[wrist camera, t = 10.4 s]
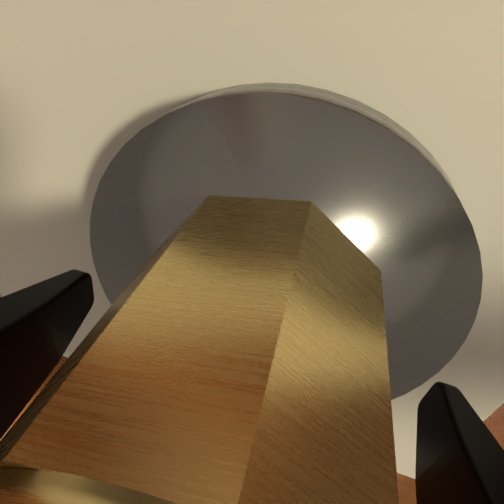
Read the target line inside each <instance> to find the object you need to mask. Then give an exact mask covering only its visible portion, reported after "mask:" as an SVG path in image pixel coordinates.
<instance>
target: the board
mask: <svg viewBox="0 0 504 504" xmlns="http://www.w3.org/2000/svg"><path fill="white" fill-rule="evenodd" d="M266 82H268V83H288V84H300V85H305V86H310V87H315V88H320V89H325V90H329V91H332V92H335V93H338V94H341V95H344V96H347V97H349V98H352V99H355V100H358V101H360V102H362V103H364V104H366V105H367V106H369V107H371V108H373V109H375V110H377V111H379V112H381V113H383V114H385V115H386V116H388V117H389V118H390V119H392V120H393V121H395V122H396V123H397V124H399V125H400V126H402V127H403V128H404V129H406V130H407V131H408V132H410V133H411V134H412V135H413V136H414V137H415V138H416V139H417V140H418V141H419V142H420V143H421V144H422V145H423V146H424V147H425V148H426V149H427V150H428V151H429V152H430V153H431V154H432V155H433V157H434V158H435V159H436V161H437V162H438V164H439V165H440V166H441V168H442V169H443V170H444V172H445V173H446V174H447V176H448V178H449V180H450V182H451V184H452V186H453V188H454V190H455V192H456V194H457V195H458V197H459V199H460V201H461V203H462V205H463V207H464V209H465V211H466V213H467V216H468V218H469V220H470V222H471V224H472V226H473V229H474V232H475V236H476V239H477V242H478V246H479V249H480V254H481V264H482V273H483V280H482V292H481V301H480V305H479V308H478V312H477V315H476V319H475V322H474V324H473V326H472V328H471V330H470V332H469V334H468V336H467V338H466V340H465V342H464V343H463V345H462V346H461V347H460V349H459V350H458V352H457V353H456V354H455V356H454V357H453V358H452V359H451V360H450V361H449V362H448V363H447V364H446V365H445V366H444V367H443V368H442V369H441V370H440V371H439V372H438V373H437V374H436V375H434V376H433V377H432V378H430V379H429V380H428V381H426V382H425V383H424V384H422V385H421V386H419V387H417V388H415V389H414V390H412V391H410V392H408V393H407V394H405V395H402V396H400V397H398V398H395V399H393V400H391V405H392V418H393V431H394V444H395V457H396V470H397V473H400V474H403V475H405V476H408V477H411V478H414V479H415V467H416V436H417V410H418V405H419V403H420V401H421V399H422V398H423V397H424V395H425V394H426V393H427V392H428V390H429V389H430V388H431V387H432V386H433V384H434V383H436V382H443V383H446V384H450V385H453V386H455V387H457V388H458V389H459V390H460V391H461V392H462V394H463V395H464V397H465V398H466V399H467V401H468V402H469V403H470V405H471V406H472V408H473V409H474V410H475V412H476V413H477V414H478V416H479V417H480V419H481V420H482V421H484V420H485V419H486V418H488V417H489V416H490V415H491V414H492V413H493V412H494V411H495V410H497V409H498V408H499V407H500V406H501V405H502V404H503V403H504V0H0V295H1V297H3V296H6V295H8V294H11V293H13V292H16V291H19V290H21V289H24V288H26V287H29V286H31V285H34V284H36V283H39V282H41V281H44V280H46V279H49V278H52V277H54V276H57V275H59V274H62V273H64V272H67V271H69V270H73V269H76V270H80V271H83V272H86V273H89V274H90V275H91V277H92V283H93V291H94V302H93V305H92V308H91V309H90V311H89V313H88V314H87V316H86V318H85V319H84V321H83V323H82V324H81V326H80V328H79V329H78V331H77V333H76V334H75V336H74V338H73V339H72V341H71V343H70V344H69V346H68V348H67V349H66V351H65V353H64V354H63V356H64V357H67V358H69V357H70V355H71V354H72V353H73V352H74V350H75V349H76V348H77V347H78V346H79V344H80V343H81V342H82V341H83V339H84V338H85V337H86V336H87V334H88V333H89V332H90V331H91V330H92V328H93V327H94V326H95V325H96V323H97V322H98V321H99V320H100V319H101V317H102V316H103V315H104V314H105V312H106V311H107V310H108V309H109V308H110V306H111V304H110V302H109V300H108V299H107V297H106V295H105V293H104V290H103V288H102V286H101V284H100V281H99V279H98V276H97V273H96V269H95V266H94V262H93V258H92V252H91V245H90V217H91V210H92V203H93V200H94V197H95V194H96V190H97V187H98V184H99V182H100V180H101V178H102V176H103V174H104V172H105V171H106V169H107V167H108V165H109V163H110V162H111V161H112V159H113V158H114V157H115V156H116V154H117V153H118V152H119V150H120V149H121V148H122V147H123V145H125V144H126V143H127V142H128V141H129V140H130V139H131V138H132V137H134V136H135V135H136V134H137V133H138V132H139V131H140V130H141V129H143V128H144V127H146V126H148V125H149V124H151V123H152V122H154V121H156V120H157V119H159V118H160V117H162V116H164V115H165V114H167V113H169V112H170V111H172V110H174V109H175V108H177V107H179V106H181V105H182V104H184V103H186V102H188V101H190V100H193V99H195V98H197V97H200V96H202V95H204V94H207V93H209V92H212V91H216V90H220V89H224V88H228V87H232V86H236V85H245V84H255V83H266Z"/></svg>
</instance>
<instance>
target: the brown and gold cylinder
mask: <svg viewBox="0 0 504 504" xmlns="http://www.w3.org/2000/svg"><path fill="white" fill-rule="evenodd" d="M0 504H399V496H398V483H397V470H396V457H395V444H394V431H393V418H392V405H391V392H390V379H389V366H388V353H387V341H386V328H385V315H384V302H383V289H382V276H381V270H380V269H379V268H378V267H377V266H376V265H375V264H374V263H373V262H372V261H371V260H370V259H369V258H368V257H367V256H366V255H365V254H364V253H363V252H362V251H361V250H360V249H359V248H358V247H357V246H356V245H355V244H354V243H353V242H352V241H351V240H350V239H349V238H348V237H347V236H346V235H345V234H344V233H343V232H342V231H341V230H340V229H339V228H338V227H337V226H336V225H335V224H334V223H333V222H332V221H331V220H330V219H329V218H328V217H327V216H326V215H325V214H324V213H323V212H322V211H321V210H320V209H319V208H318V207H317V206H316V205H315V204H314V203H313V202H312V201H298V200H281V199H264V198H246V197H229V196H212V195H209V196H208V197H207V198H206V199H205V200H204V201H203V202H202V203H201V204H200V205H199V206H198V207H197V208H196V209H195V210H194V211H193V212H192V213H191V214H190V215H189V216H188V217H187V219H186V220H185V221H184V222H183V223H182V224H181V225H180V226H179V227H178V228H177V229H176V230H175V231H174V232H173V233H172V234H171V235H170V236H169V237H168V238H167V239H166V240H165V241H164V243H163V244H162V245H161V246H160V247H159V248H158V249H157V250H156V251H155V252H154V254H153V255H152V256H151V257H150V258H149V260H148V261H147V262H146V263H145V265H144V266H143V267H142V268H141V269H140V271H139V272H138V273H137V274H136V276H135V277H134V278H133V279H132V281H131V282H130V283H129V284H128V285H127V287H126V288H125V289H124V290H123V292H122V293H121V294H120V295H119V296H118V298H117V299H116V300H115V301H114V303H113V304H112V305H111V306H110V308H109V309H108V310H107V311H106V312H105V314H104V315H103V316H102V317H101V319H100V320H99V321H98V322H97V323H96V325H95V326H94V327H93V328H92V330H91V331H90V332H89V333H88V334H87V336H86V337H85V338H84V339H83V341H82V342H81V343H80V344H79V346H78V347H77V348H76V349H75V350H74V352H73V353H72V354H71V355H70V357H69V358H68V359H67V360H66V361H65V363H64V364H63V365H62V366H61V368H60V369H59V370H58V371H57V373H56V374H55V375H54V376H53V377H52V379H51V380H50V381H49V382H48V384H47V385H46V386H45V387H44V388H43V390H42V391H41V392H40V393H39V395H38V396H37V397H36V398H35V399H34V401H33V402H32V403H31V404H30V406H29V407H28V408H27V409H26V411H25V412H24V413H23V414H22V415H21V417H20V418H19V419H18V420H17V422H16V423H15V424H14V425H13V426H12V428H11V429H10V430H9V431H8V433H7V434H6V435H5V436H4V437H3V439H2V440H1V441H0Z"/></svg>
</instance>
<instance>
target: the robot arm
mask: <svg viewBox="0 0 504 504" xmlns="http://www.w3.org/2000/svg"><path fill="white" fill-rule="evenodd" d="M93 302H94V291H93V283H92V277H91V275H90V274H89V273H86V272H83V271H80V270H76V269H73V270H69V271H67V272H64V273H62V274H59V275H57V276H54V277H52V278H49V279H46V280H44V281H41V282H39V283H36V284H34V285H31V286H29V287H26V288H24V289H21V290H19V291H16V292H13V293H11V294H8V295H6V296H3V297H1V298H0V439H1V438H2V436H3V435H4V434H5V432H6V431H7V430H8V428H9V427H10V426H11V424H12V423H13V422H14V420H15V419H16V418H17V416H18V415H19V414H20V413H21V411H22V410H23V409H24V407H25V406H26V405H27V403H28V402H29V401H30V399H31V398H32V397H33V395H34V394H35V393H36V391H37V390H38V389H39V387H40V386H41V385H42V383H43V382H44V381H45V379H46V378H47V377H48V375H49V374H50V373H51V371H52V370H53V369H54V367H55V366H56V365H57V363H58V362H59V360H60V359H61V357H62V356H63V354H64V353H65V351H66V349H67V348H68V346H69V344H70V343H71V341H72V339H73V338H74V336H75V334H76V333H77V331H78V329H79V328H80V326H81V324H82V323H83V321H84V319H85V318H86V316H87V314H88V313H89V311H90V309H91V308H92V305H93ZM415 482H416V498H417V504H504V450H503V449H502V447H501V446H500V445H499V443H498V442H497V441H496V439H495V438H494V436H493V435H492V434H491V432H490V431H489V430H488V428H487V427H486V425H485V424H484V423H483V421H482V420H481V419H480V417H479V416H478V414H477V413H476V412H475V410H474V409H473V408H472V406H471V405H470V403H469V402H468V401H467V399H466V398H465V397H464V395H463V394H462V392H461V391H460V390H459V389H458V388H457V387H455V386H453V385H450V384H446V383H443V382H436V383H434V384H433V386H432V387H431V388H430V389H429V390H428V392H427V393H426V394H425V395H424V397H423V398H422V399H421V401H420V403H419V405H418V410H417V436H416V467H415Z"/></svg>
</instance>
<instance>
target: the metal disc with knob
mask: <svg viewBox="0 0 504 504" xmlns="http://www.w3.org/2000/svg"><path fill="white" fill-rule="evenodd" d="M209 195H212V196H229V197H246V198H264V199H281V200H298V201H312V202H313V203H314V204H315V205H316V206H317V207H318V208H319V209H320V210H321V211H322V212H323V213H324V214H325V215H326V216H327V217H328V218H329V219H330V220H331V221H332V222H333V223H334V224H335V225H336V226H337V227H338V228H339V229H340V230H341V231H342V232H343V233H344V234H345V235H346V236H347V237H348V238H349V239H350V240H351V241H352V242H353V243H354V244H355V245H356V246H357V247H358V248H359V249H360V250H361V251H362V252H363V253H364V254H365V255H366V256H367V257H368V258H369V259H370V260H371V261H372V262H373V263H374V264H375V265H376V266H377V267H378V268H379V269H380V270H381V276H382V289H383V302H384V315H385V328H386V341H387V353H388V366H389V379H390V392H391V400H393V399H395V398H398V397H400V396H402V395H405V394H407V393H408V392H410V391H412V390H414V389H415V388H417V387H419V386H421V385H422V384H424V383H425V382H426V381H428V380H429V379H430V378H432V377H433V376H434V375H436V374H437V373H438V372H439V371H440V370H441V369H442V368H443V367H444V366H445V365H446V364H447V363H448V362H449V361H450V360H451V359H452V358H453V357H454V356H455V354H456V353H457V352H458V350H459V349H460V347H461V346H462V345H463V343H464V342H465V340H466V338H467V336H468V334H469V332H470V330H471V328H472V326H473V324H474V322H475V319H476V315H477V312H478V308H479V305H480V301H481V292H482V280H483V273H482V264H481V254H480V249H479V246H478V242H477V239H476V236H475V232H474V229H473V226H472V224H471V222H470V220H469V218H468V216H467V213H466V211H465V209H464V207H463V205H462V203H461V201H460V199H459V197H458V195H457V194H456V192H455V190H454V188H453V186H452V184H451V182H450V180H449V178H448V176H447V174H446V173H445V172H444V170H443V169H442V168H441V166H440V165H439V164H438V162H437V161H436V159H435V158H434V157H433V155H432V154H431V153H430V152H429V151H428V150H427V149H426V148H425V147H424V146H423V145H422V144H421V143H420V142H419V141H418V140H417V139H416V138H415V137H414V136H413V135H412V134H411V133H410V132H408V131H407V130H406V129H404V128H403V127H402V126H400V125H399V124H397V123H396V122H395V121H393V120H392V119H390V118H389V117H388V116H386V115H385V114H383V113H381V112H379V111H377V110H375V109H373V108H371V107H369V106H367V105H366V104H364V103H362V102H360V101H358V100H355V99H352V98H349V97H347V96H344V95H341V94H338V93H335V92H332V91H329V90H325V89H320V88H315V87H310V86H305V85H300V84H288V83H268V82H266V83H255V84H245V85H236V86H232V87H228V88H224V89H220V90H216V91H212V92H209V93H207V94H204V95H202V96H200V97H197V98H195V99H193V100H190V101H188V102H186V103H184V104H182V105H181V106H179V107H177V108H175V109H174V110H172V111H170V112H169V113H167V114H165V115H164V116H162V117H160V118H159V119H157V120H156V121H154V122H152V123H151V124H149V125H148V126H146V127H144V128H143V129H141V130H140V131H139V132H138V133H137V134H136V135H135V136H134V137H132V138H131V139H130V140H129V141H128V142H127V143H126V144H125V145H123V147H122V148H121V149H120V150H119V152H118V153H117V154H116V156H115V157H114V158H113V159H112V161H111V162H110V163H109V165H108V167H107V169H106V171H105V172H104V174H103V176H102V178H101V180H100V182H99V184H98V187H97V190H96V194H95V197H94V200H93V203H92V210H91V217H90V245H91V252H92V258H93V262H94V266H95V269H96V273H97V276H98V279H99V281H100V284H101V286H102V288H103V290H104V293H105V295H106V297H107V299H108V300H109V302H110V304H111V305H112V304H113V303H114V301H115V300H116V299H117V298H118V296H119V295H120V294H121V293H122V292H123V290H124V289H125V288H126V287H127V285H128V284H129V283H130V282H131V281H132V279H133V278H134V277H135V276H136V274H137V273H138V272H139V271H140V269H141V268H142V267H143V266H144V265H145V263H146V262H147V261H148V260H149V258H150V257H151V256H152V255H153V254H154V252H155V251H156V250H157V249H158V248H159V247H160V246H161V245H162V244H163V243H164V241H165V240H166V239H167V238H168V237H169V236H170V235H171V234H172V233H173V232H174V231H175V230H176V229H177V228H178V227H179V226H180V225H181V224H182V223H183V222H184V221H185V220H186V219H187V217H188V216H189V215H190V214H191V213H192V212H193V211H194V210H195V209H196V208H197V207H198V206H199V205H200V204H201V203H202V202H203V201H204V200H205V199H206V198H207V197H208V196H209Z"/></svg>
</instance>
